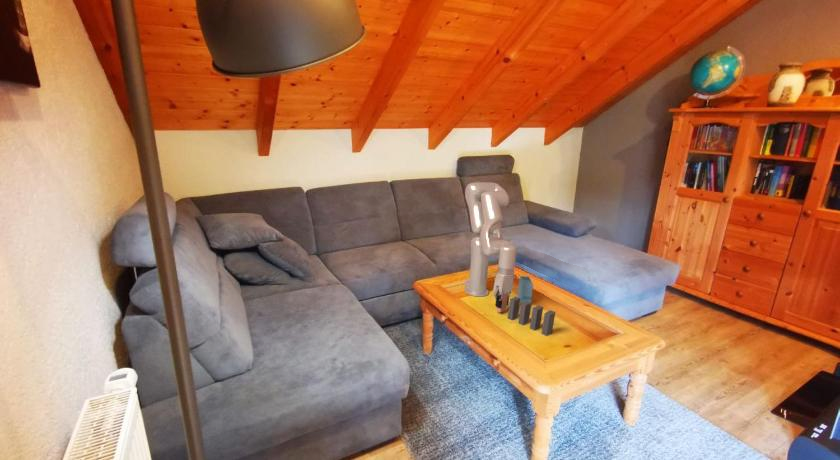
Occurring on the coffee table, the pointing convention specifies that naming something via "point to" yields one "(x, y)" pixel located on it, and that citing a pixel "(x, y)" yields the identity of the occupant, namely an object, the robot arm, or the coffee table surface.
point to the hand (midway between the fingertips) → (501, 305)
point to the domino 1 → (503, 303)
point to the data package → (525, 289)
